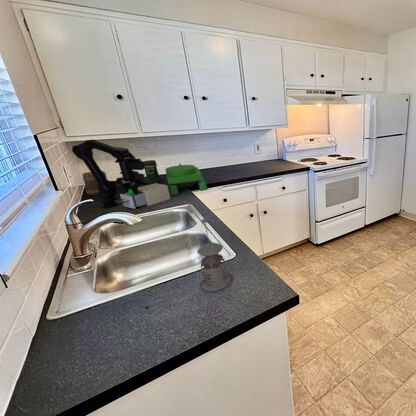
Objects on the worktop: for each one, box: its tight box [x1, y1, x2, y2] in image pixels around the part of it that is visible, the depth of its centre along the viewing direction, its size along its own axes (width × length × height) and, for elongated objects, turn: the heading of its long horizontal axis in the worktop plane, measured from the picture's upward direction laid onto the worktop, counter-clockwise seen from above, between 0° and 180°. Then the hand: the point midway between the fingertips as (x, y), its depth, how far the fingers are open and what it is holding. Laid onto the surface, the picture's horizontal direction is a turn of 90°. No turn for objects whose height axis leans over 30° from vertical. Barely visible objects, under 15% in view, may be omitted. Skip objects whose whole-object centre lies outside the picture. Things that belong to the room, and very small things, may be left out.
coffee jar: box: [142, 159, 162, 185], centre depth 217 cm, size 10×8×19 cm
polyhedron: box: [127, 189, 138, 196], centre depth 166 cm, size 5×5×5 cm
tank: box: [164, 163, 208, 196], centre depth 206 cm, size 24×35×16 cm
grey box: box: [138, 183, 171, 207], centre depth 177 cm, size 15×13×10 cm
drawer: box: [115, 191, 148, 210], centre depth 167 cm, size 18×11×8 cm, turn 152°
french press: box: [196, 218, 232, 292], centre depth 92 cm, size 10×12×25 cm
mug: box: [82, 170, 108, 196], centre depth 196 cm, size 16×11×15 cm
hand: (133, 194), depth 167 cm, fingers closed on polyhedron, 5 cm apart
